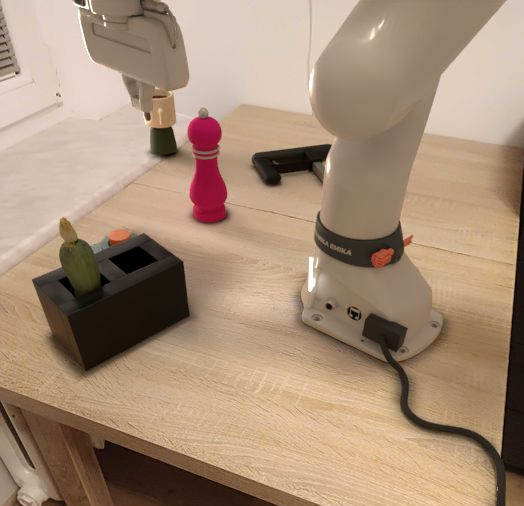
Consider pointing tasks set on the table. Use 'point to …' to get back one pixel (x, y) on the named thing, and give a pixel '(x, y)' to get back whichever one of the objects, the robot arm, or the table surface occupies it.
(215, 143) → the pepper mill
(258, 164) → the door handle
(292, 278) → the table surface
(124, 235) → the button
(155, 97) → the character mug
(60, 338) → the toaster
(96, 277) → the vegetable
